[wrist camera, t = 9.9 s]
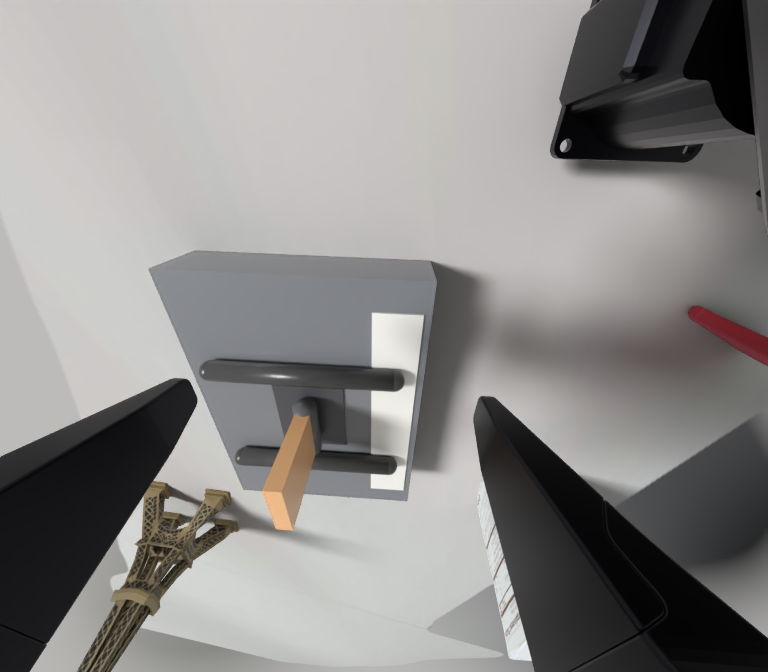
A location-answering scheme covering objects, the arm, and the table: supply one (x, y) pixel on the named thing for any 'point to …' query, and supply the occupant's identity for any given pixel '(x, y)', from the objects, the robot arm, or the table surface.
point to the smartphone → (732, 333)
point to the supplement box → (502, 582)
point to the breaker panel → (308, 359)
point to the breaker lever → (293, 465)
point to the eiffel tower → (155, 547)
